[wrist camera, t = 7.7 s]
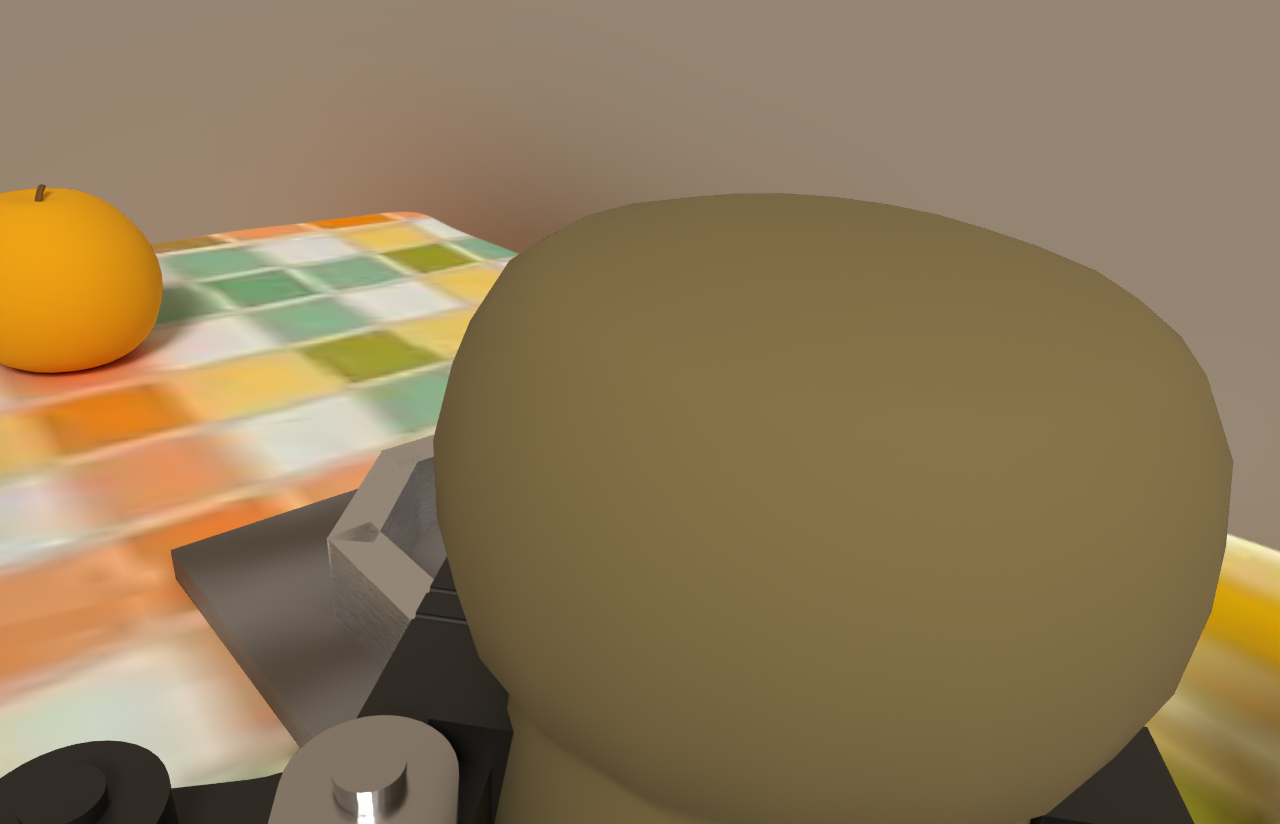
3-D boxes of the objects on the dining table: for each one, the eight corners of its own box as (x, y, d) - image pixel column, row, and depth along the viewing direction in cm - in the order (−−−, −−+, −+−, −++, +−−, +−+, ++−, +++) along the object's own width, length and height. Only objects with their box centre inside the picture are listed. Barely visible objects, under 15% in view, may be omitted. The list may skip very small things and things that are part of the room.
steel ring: (280, 559, 27) (271, 484, 26) (587, 449, 34) (589, 386, 33) (512, 812, 19) (512, 721, 18) (841, 603, 27) (855, 529, 26)
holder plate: (175, 578, 27) (170, 550, 27) (593, 433, 37) (594, 410, 37) (482, 995, 17) (481, 960, 17) (946, 639, 27) (953, 611, 27)
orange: (-85, 384, 38) (-141, 199, 34) (47, 318, 45) (11, 160, 41) (103, 404, 37) (64, 218, 34) (207, 334, 44) (183, 175, 41)
